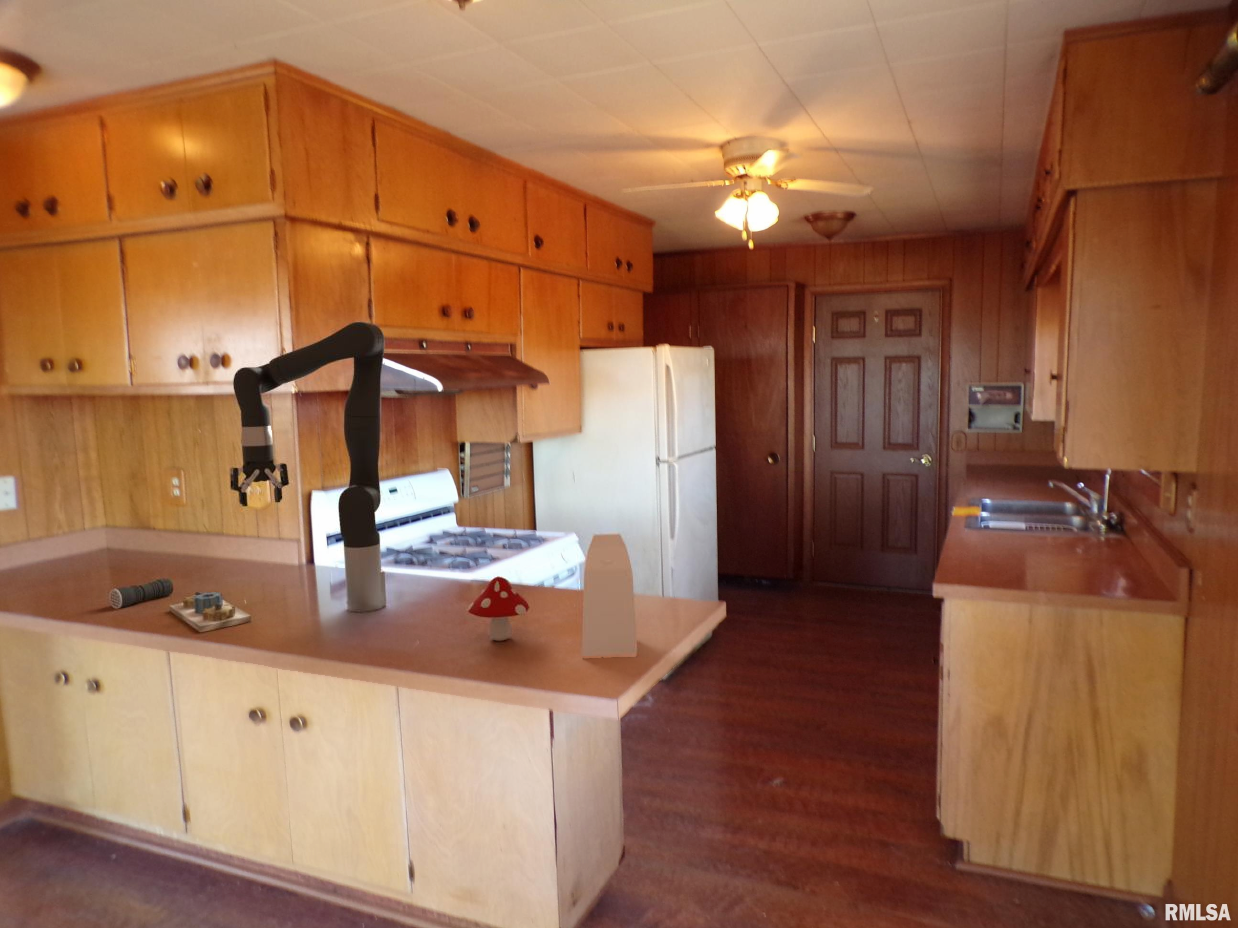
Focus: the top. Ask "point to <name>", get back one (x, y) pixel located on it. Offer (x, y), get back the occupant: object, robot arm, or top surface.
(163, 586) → the flashlight
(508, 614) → the decorative mushroom
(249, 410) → the robot arm
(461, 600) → the top surface
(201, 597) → the loose gear
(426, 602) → the top surface
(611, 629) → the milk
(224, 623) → the gear board
